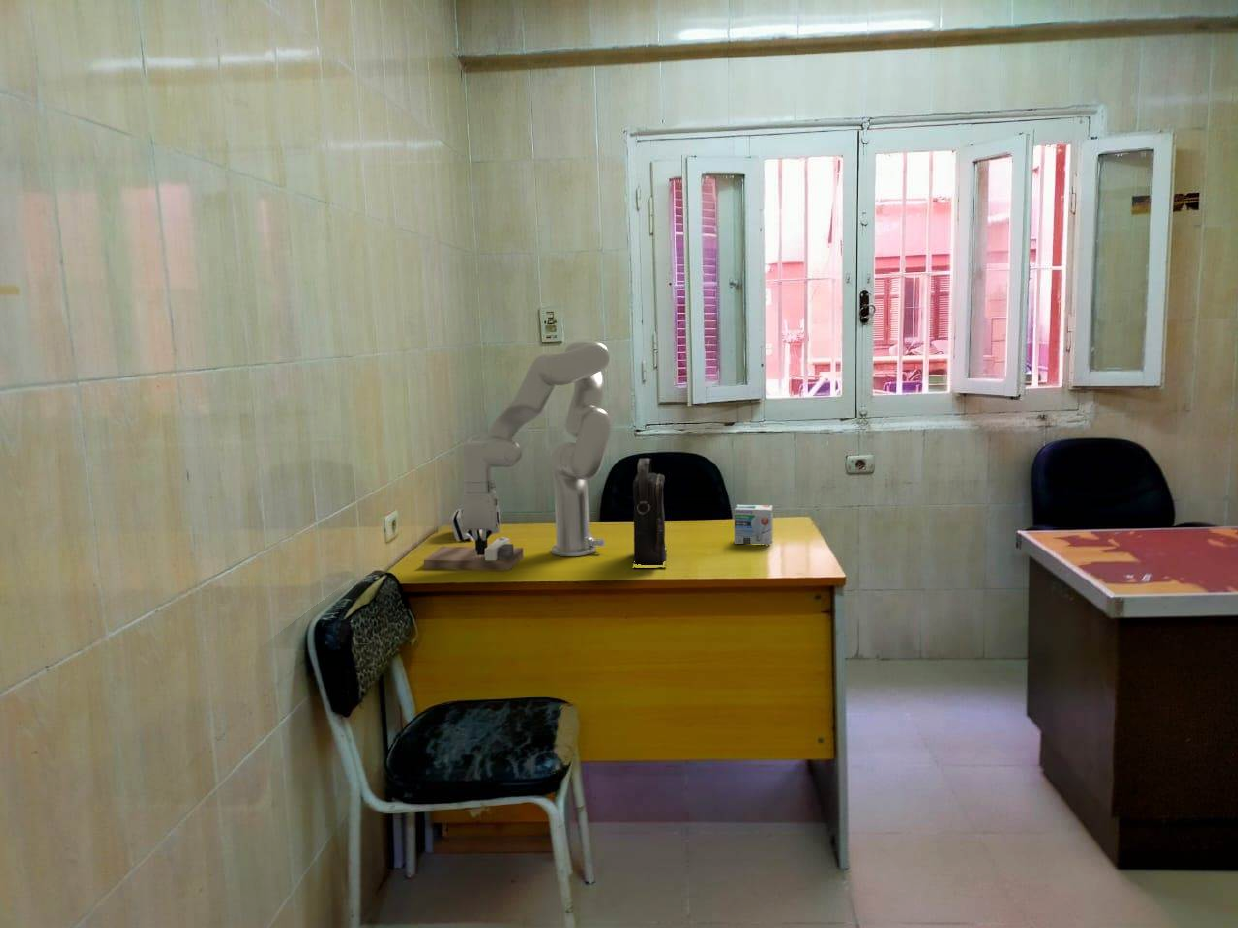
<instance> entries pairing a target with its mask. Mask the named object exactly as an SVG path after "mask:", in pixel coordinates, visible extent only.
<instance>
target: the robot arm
mask: <svg viewBox="0 0 1238 928" xmlns="http://www.w3.org/2000/svg"><path fill="white" fill-rule="evenodd" d="M610 357H611V355H610V352H609V349H608V348H607V346H606V345H604V344H603V343H601V342H600V341H599V342H597V341H574V342H571V343H570V344H568V345H567V347H566V348H565V350H564V351H563V352H560V353H542V354H540V355H538V356H536V357H535V358H534V359H533V361H532V363H531V364H530V367H529V369H528V371H527V372H526V374H525V377H524V378H523V380H522V382H521V384H520V386H519V388H518V390H517V391H516V392H515V393H516V394H515V395H514V397H513V399H512V400H511V401H510V402H509V403H508V404H507V406H505V408H504V409H503V410H502V411H501V412H500V414H499V415H498V416H497V417H496V418H495V420H494V422H493V423H492V425H491V426H490V428H489V430H488V432H487V433H486V436H485V438H484V440H473V441H467V442H465V443H464V444H463V446H462V465H463V481H464V482H463V483H464V485H463V486H464V491H463V492H462V494H461V500H460V509H461V513H460V520H461V526H462V528H461V531H462V532H464V533H467V534H469V535H471V536H472V537H473V540H474V547H475V550H476V551H477V555H480V554H481V555H484V554H485V549H486V548H487V547H488V546H489V545H488V538H490V537H491V536H492V535H494V534H498V533H499V532H501V528H500V525H501V521H502V520H501V510H500V503H499V499H498V498H499V497H498V494H497V491H495V490H494V489H498V486H499V484H498V483H497V482H494V480H493V468H495V467H496V468H513V467H514V466H516V465H518V464H519V463H520V462H521V460H522V459H523V450H522V447H521V446H520V444H519V443H517V442H516V441H514V438H515V436H516V435H517V433H518V432H519V431H520V430H521V428H523V426H525V425H526V424H528V423H529V422H531V421H533V420H535V419H536V418H537V417H539V416H540V415H541V414H542V413H543V411H544V409H545V407H546V405H547V403H548V401H549V399H550V397H551V395H552V393H553V391H554V389H555V387H556V386H565V385H569V384H571V383H574V387H573V393H572V397H571V400H570V404H569V406H568V409H567V410H568V411H567V413H566V418H565V423H564V427H565V431H566V433H567V434H568V435H569V436H571V437H573V438H575V439H576V440H575V442H574V441H564V442H561V443H559V444H558V445H556V446H555V447H554V449H553V450H552V453H551V456H550V467H551V471H552V477H553V484H554V504H555V505H554V506H555V526H556V544H555V545H553V546H552V547H551V552H552V554H553V555H556V556H563V557H579V556H586V555H589V554H593V553H594V552H595V551H596V550H597V549H596V546H597V547H605V543H606V542H605V539H603V538H599V537H598V538H595V537H593V533H591V532H590V529H591V528H590V505H589V503H590V502H589V484H588V481H589V480H591V479H593V478H594V477H596V476H597V474H598V473H599V472H600V470H601V468H602V465H603V462H604V459H605V455H606V452H607V448H608V445H609V443H610V438H611V434H612V429H613V428H612V426H613V425H612V420H611V417H610V414H608V412H607V411H606V410H605V409H602V408H601V407H602V403H603V398H604V394H605V379H604V376H603V373H602V372H603V371H604V370H605V369H606V368H607V367H608V365H609V364H610V360H611V359H610ZM587 480H588V481H587ZM479 529H482V534H481V535H480V530H479Z"/></svg>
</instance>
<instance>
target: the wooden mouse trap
mask: <svg viewBox="0 0 1238 928" xmlns="http://www.w3.org/2000/svg"><path fill="white" fill-rule="evenodd" d="M523 558H524V548H522V547H514V544H513V543H512V544H511V543H509V544H504V545H503V546H501V547H500V548H499V558H498V559H497V560H485V554H484V555H481V554H480V555H477V551H476V550H475V546H474V547H473V546H472V547H470V546H469V547H465V546H462V547H461V546H458V547H457V546H441V547H440V548H438V549H437V550H436V551H434V552H432V553H431V554H430V555H428V556H427V557H426V558H424V559H423V569H424V570H425V569H426V570H428V569H429V570H463V571H464V570H465V571H466V570H468V571H469V570H470V571H471V570H472V571H476V570H477V571H510V570H511V569H512V568H513V567H514V566H515V565H516V564H517V563H519V562H520V561H522V559H523Z"/></svg>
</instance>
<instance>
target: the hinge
mask: <svg viewBox="0 0 1238 928" xmlns="http://www.w3.org/2000/svg"><path fill="white" fill-rule="evenodd" d="M460 513H461V508H459V509H457V510H455V511H454V512H453V513H452V515H451V516H450V518H449V525H450V526H451V527H450V528H451V529H452V533H453V535H454V539H455V540H456V542H457V541H458V542H457V543H459V542H461V541H465V540H468V539H469V540H470V542H471V541H473V537H472V536H471V535H469V534H467V533H464V532H462V531H461V528H462V526H461V520H460ZM479 530H480V534H481V533H482V529H479ZM481 535H482V534H481ZM473 542H474V541H473Z"/></svg>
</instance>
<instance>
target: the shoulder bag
mask: <svg viewBox="0 0 1238 928" xmlns="http://www.w3.org/2000/svg"><path fill="white" fill-rule="evenodd" d="M636 469H637V474H636V476H635V478H634V479H633V482H632V497H633V498H632V499H633V549H634V550H633V558H632V562H633V561H635V562H634V564H637V565H638V564H641V565H663V562H664V561H666V562H667V554H668V549H667V550H665V548H666V542H665V538H666V537H665V535H666V533H665V532H666V526H665V524H666V523H665V521H666V520H665V508H664V507H665V506H664V485H665V480H666V479H665V475H664V474H661V473H656V472H652V459H651V458H646V457H645V458H639V460H638V462H637V467H636ZM666 552H667V553H666Z"/></svg>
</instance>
